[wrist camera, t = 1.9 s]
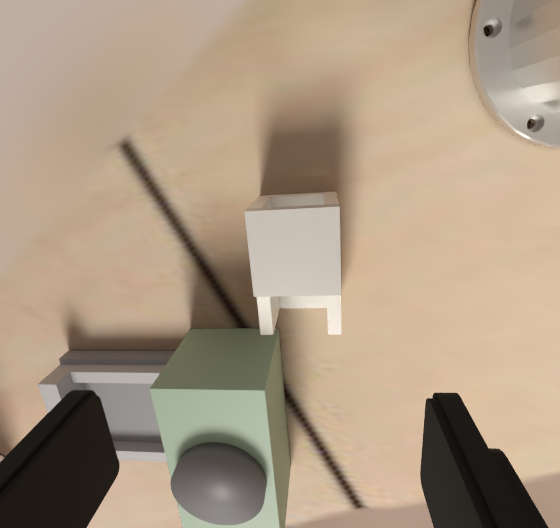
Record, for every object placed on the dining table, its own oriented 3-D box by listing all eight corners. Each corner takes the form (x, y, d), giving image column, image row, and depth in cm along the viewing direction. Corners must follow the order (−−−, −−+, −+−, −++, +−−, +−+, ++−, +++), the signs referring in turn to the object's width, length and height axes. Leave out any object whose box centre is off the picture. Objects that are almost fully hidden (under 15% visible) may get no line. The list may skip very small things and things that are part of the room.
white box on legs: (260, 195, 24) (244, 211, 19) (336, 191, 23) (339, 206, 18) (270, 303, 26) (258, 341, 22) (338, 302, 26) (342, 341, 21)
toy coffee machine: (278, 328, 27) (261, 402, 19) (290, 466, 32) (280, 569, 24) (62, 329, 29) (-28, 397, 22) (103, 458, 34) (41, 549, 26)
